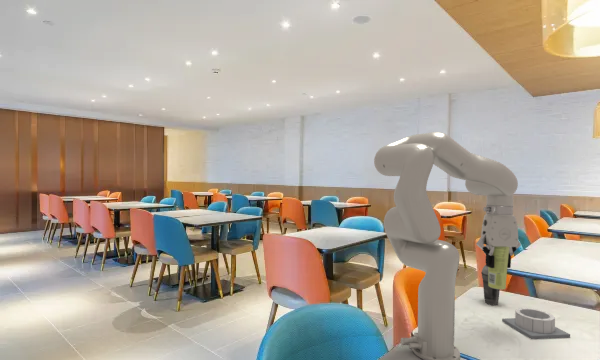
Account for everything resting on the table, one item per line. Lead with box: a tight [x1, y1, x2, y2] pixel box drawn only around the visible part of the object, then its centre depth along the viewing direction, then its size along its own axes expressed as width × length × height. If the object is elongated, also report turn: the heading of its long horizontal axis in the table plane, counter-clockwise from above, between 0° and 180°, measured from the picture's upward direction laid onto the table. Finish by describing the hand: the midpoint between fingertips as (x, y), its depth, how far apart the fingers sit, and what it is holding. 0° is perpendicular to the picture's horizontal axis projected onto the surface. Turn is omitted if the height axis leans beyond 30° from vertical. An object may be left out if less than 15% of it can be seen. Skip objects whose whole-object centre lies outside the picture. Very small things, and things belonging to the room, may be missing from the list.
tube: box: [488, 247, 509, 291], centre depth 112 cm, size 6×5×20 cm
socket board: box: [501, 307, 571, 340], centre depth 113 cm, size 13×13×5 cm
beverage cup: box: [481, 264, 501, 306], centre depth 136 cm, size 7×7×20 cm
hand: (498, 266), depth 112 cm, fingers closed on tube, 4 cm apart
